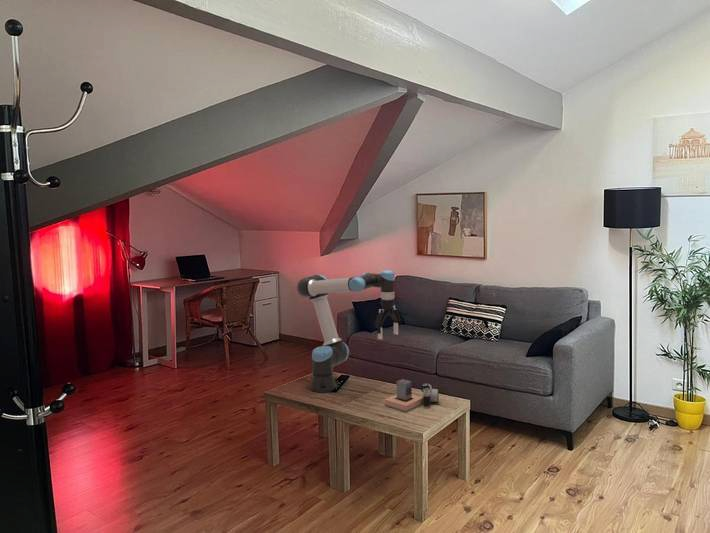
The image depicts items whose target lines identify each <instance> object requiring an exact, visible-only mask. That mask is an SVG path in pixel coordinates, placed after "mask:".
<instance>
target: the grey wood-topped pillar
mask: <svg viewBox="0 0 710 533" xmlns="http://www.w3.org/2000/svg"><path fill="white" fill-rule="evenodd" d="M412 383H413V382H412V381H411V380H408V379H404V378H401V379H399V380H397V381H396V394H397V400H400V401H404V402H408V401H410V400H412V395H413V394H412V393H413V392H412V388H413V387H412Z"/></svg>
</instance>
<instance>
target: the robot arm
mask: <svg viewBox="0 0 710 533" xmlns="http://www.w3.org/2000/svg"><path fill="white" fill-rule="evenodd" d="M395 280H396V278H395V271H393V270H387V269H386V270H382V271H380V273H371V272H364V273H363V272H362V275H360V276H352V277H342V278H331V279H328V278H327V277H326V276H324V275H321V274H314V275H310V276H307V277H303V278H301V279H299V281H298V282H297V284H296V291H297V293H298V295H299V296H301V297H302V298H308V299H309V301H310V302H312V303H313V306H314V307H313V308H314V309H315V313H316V317H317V319H318V324H319V327H320V330H321V334H322V337H323V340H324V342H323V344H322V345H321V346H317V347H315V348H314V349H312V352H311V361H312V362H311V364H312V367H311V368H312V376H311V381H310V383H309V390H310V391H312V392H314V393H321V394H323V393H330V392H333V391H334V390H333V389H334V388H335V387H336V388H337V382H336V379H335V376H334V367H336V366H338V365H339V364H343V363H344V362H345V361H347V359H348V358H349V356H350V355H349V354H350V350H349V347H348V345H347V344H346V343H345V342H343V339H342V338H340V337H339V334H338V331H337V327H336V324H335V320H334V317H333V314H332V310H331V306H330V304H329V300H328V297H329V295H330V294H333V293H334V294H335V293H346V292H357V293H358V292H361V291H364V290H367V289H370V288H380V306H381V309H380V308H378V309H377V315H376V319H375V322H374V324H373V326H374V327H375V328H376V333H377V339H378V340H383V327H382V326H383V324H384V322H385V320H386V318H388V317H389V316H390V317H391V319H392V321H393V335H399V324H400V323H401V321H402V319H401V316H400V313H399V309H398V306H397V305H396V304H395ZM332 390H333V391H332Z"/></svg>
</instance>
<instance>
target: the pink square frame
mask: <svg viewBox="0 0 710 533" xmlns="http://www.w3.org/2000/svg"><path fill="white" fill-rule="evenodd" d="M422 405H423V406H424V398H423V397H422V396H418V395H416V394H412V400H410V401H408V402H404V401H400V400H397V393H396V394H394V395H391V396H389V397H387V398H385V399H384V406H385V407H387V408H391V409H394V410H397V411H401V412H403V413H408V412H410V411H412V410H414V409H417V408H418V407H420V406H422Z"/></svg>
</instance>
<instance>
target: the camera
mask: <svg viewBox="0 0 710 533" xmlns="http://www.w3.org/2000/svg"><path fill="white" fill-rule="evenodd" d="M420 390H421V393H423V408H426V409H427V408H428V409H429V408H431V402H432V403H434V402H439V398H440V397H439V396H440V395H439V391H440V390H439V388H438V389H437V388H433V387H432V385H431V384H430V383H422V385H421V389H420Z"/></svg>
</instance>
